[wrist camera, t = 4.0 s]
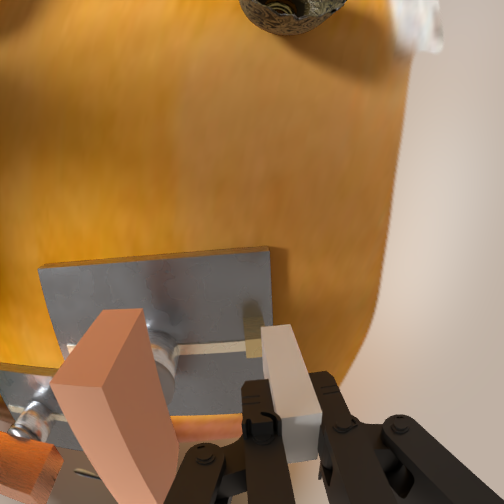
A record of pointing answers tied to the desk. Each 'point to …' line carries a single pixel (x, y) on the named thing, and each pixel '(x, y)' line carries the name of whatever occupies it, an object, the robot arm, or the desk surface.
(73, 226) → the desk surface
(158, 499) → the salmon orange brick
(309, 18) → the cup
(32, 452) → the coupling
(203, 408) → the base
